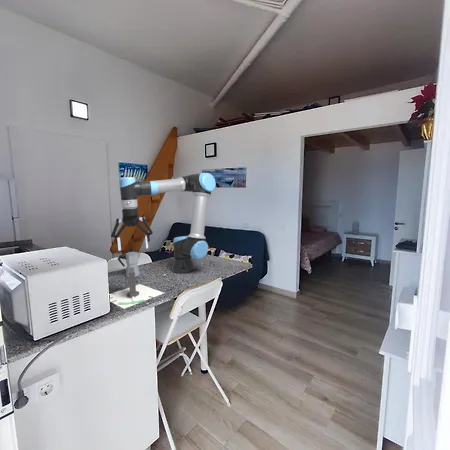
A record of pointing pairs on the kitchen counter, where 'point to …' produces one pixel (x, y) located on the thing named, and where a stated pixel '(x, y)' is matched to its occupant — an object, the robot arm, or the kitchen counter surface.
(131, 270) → the grey piece
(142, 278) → the kitchen counter surface
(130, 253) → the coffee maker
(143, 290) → the board
